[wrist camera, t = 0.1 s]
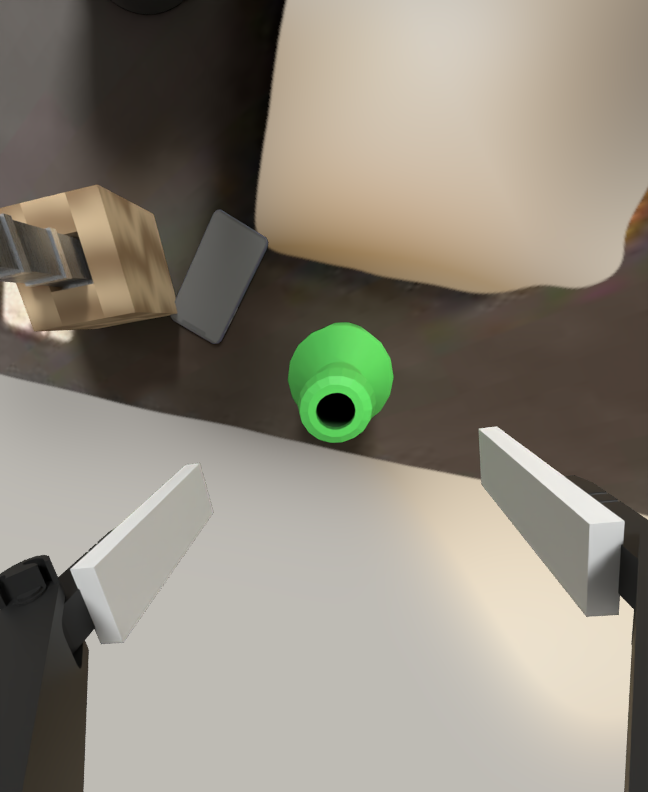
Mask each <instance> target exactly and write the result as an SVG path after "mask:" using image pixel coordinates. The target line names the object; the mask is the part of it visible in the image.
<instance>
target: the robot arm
mask: <svg viewBox="0 0 648 792" xmlns="http://www.w3.org/2000/svg"><path fill="white" fill-rule="evenodd" d="M111 1H112V2H114V3H115V4H117V5H118V6H120V7H122V8H124V9H126V10H129V11H132V12H135V13H140V14H156V13H161V12H164V11H167V10H169V9H171V8H173V7H175V6H177V5H178V4H180V3H181V2H182V1H183V0H111ZM479 446H480V465H481V482H482V483H481V484H482V486H483V487H484V488H485V490H486V491H487V492H488V493H489V495H490V496H491V497H492V498H493V500H494V501H495V502H496V503H497V505H498V506H499V507H500V508H501V510H502V511H503V512H504V513H505V515H506V516H507V517H508V519H509V520H510V521H511V522H512V524H513V525H514V526H515V527H516V529H517V530H518V531H519V532H520V534H521V535H522V536H523V537H524V539H525V540H526V541H527V542H528V544H529V545H530V546H531V547H532V549H533V550H534V551H535V553H536V554H537V555H538V556H539V558H540V559H541V560H542V561H543V563H544V564H545V565H546V566H547V567H548V569H549V570H550V571H551V573H552V574H553V575H554V576H555V578H556V579H557V580H558V582H559V583H560V584H561V585H562V586H563V588H564V589H565V590H566V592H567V593H568V594H569V595H570V597H571V598H572V599H573V600H574V602H575V603H576V604H577V605H578V607H579V608H580V609H581V610H582V612H583V613H584V614H585V615H586V617H589V616H606V615H619V601H620V596H621V597H622V598H623V599H624V600H625V601H626V602H627V603H628V604H629V605H630V606H631V607H632V608H633V609H634V619H633V631H632V656H631V657H632V658H631V674H630V693H629V712H628V731H627V750H626V769H625V788H624V792H648V520H647V519H646V518H644V517H643V516H641V515H640V514H638V513H637V512H635V511H634V510H632V509H631V508H630V507H628V506H627V505H625V504H624V503H622V502H621V501H618V500H617V499H616V498H615V497H613V496H612V495H610V494H609V493H608V494H607V493H606V491H604V490H603V489H601V488H600V487H599V486H597V485H596V484H594V483H593V482H590V481H588V480H585V479H583V478H580V477H577V476H575V475H573V476H563V475H561V474H560V473H559V472H557V471H556V470H555V469H553V468H552V467H551V466H549V465H548V464H547V463H545V462H544V461H543V460H541V459H540V458H539V457H537V456H536V455H534V454H533V453H532V452H530V451H529V450H528V449H526V448H525V447H524V446H522V445H521V444H520V443H518V442H517V441H516V440H514V439H513V438H511V437H510V436H509V435H507V434H506V433H505V432H503V431H502V430H501V429H499V428H498V427H489V428H481V429H479ZM212 514H213V508H212V504H211V501H210V497H209V494H208V490H207V486H206V483H205V479H204V476H203V472H202V468H201V465H200V463H196V464H188V465H185V466H184V467H182V469H180V470H179V471H178V472H177V473H176V474H175V475H174V476H173V477H171V478H170V479H169V480H168V481H167V482H166V483H165V484H164V485H163V486H162V487H160V488H159V489H158V490H157V491H156V492H155V493H154V494H153V495H152V496H150V497H149V498H148V499H147V500H146V501H145V502H144V503H143V504H142V505H141V506H139V507H138V508H137V509H136V510H135V511H134V512H133V513H132V514H131V515H129V516H128V517H127V518H126V519H125V520H124V521H123V522H122V523H121V524H119V525H118V526H117V527H116V528H115V529H113V530H111V531H110V532H108V533H107V534H106V535H105V536H104V537H103V538H102V539H101V540H99V541H98V544H95V545H94V546H93V547H92V548H90V549H89V552H86V553H85V554H84V555H83V556H82V557H80V558H79V559H78V560H77V561H76V562H75V563H74V564H73V565H72V566H70V568H68V569H67V570H66V571H65V572H64V573H63V574H61V575H60V576H59V577H58V576H57V574H56V572H55V570H54V567H53V565H52V562H51V561H50V558H49V556H46V555H41V556H35V557H32V558H29V559H27V560H24V561H22V562H20V563H18V564H16V565H14V566H12V567H11V568H9V569H7V570H6V571H4V572H2V573H1V574H0V792H83V787H84V761H85V734H86V708H87V681H88V655H89V650H88V647H87V644H86V642H85V639H86V638H87V637H88V636H89V634H90V633H91V632H92V631H93V629H95V631H96V634H97V636H98V638H99V641H100V643H101V644H110V643H124V641H125V640H126V638H127V637H128V635H129V634H130V632H131V631H132V630H133V628H134V627H135V625H136V624H137V622H138V621H139V619H140V618H141V617H142V615H143V614H144V612H145V611H146V609H147V608H148V607H149V605H150V604H151V602H152V601H153V599H154V598H155V596H156V595H157V594H158V592H159V591H160V589H161V588H162V586H163V585H164V583H165V582H166V581H167V579H168V578H169V576H170V575H171V573H172V572H173V570H174V569H175V568H176V566H177V565H178V563H179V562H180V560H181V559H182V557H183V556H184V555H185V553H186V552H187V550H188V549H189V547H190V546H191V544H192V543H193V542H194V540H195V539H196V537H197V536H198V534H199V533H200V531H201V530H202V528H203V527H204V525H205V524H206V523H207V521H208V520H209V518H210V517H211V515H212Z"/></svg>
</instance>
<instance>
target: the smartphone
mask: <svg viewBox="0 0 648 792" xmlns="http://www.w3.org/2000/svg"><path fill="white" fill-rule="evenodd" d="M267 248H268V240H267V238H266V237H264V236H263V235H261V234H260V233H258V232H256V231H255V230H253V229H251V228H250V227H248V226H247V225H245V224H243V223H242V222H240V221H238V220H237V219H235V218H234V217H232V216H230V215H229V214H227V213H225V212H224V211H222V210H216V211H215V212H214V213H213V216H212V218H211V220H210V222H209V225H208V227H207V229H206V231H205V234H204V236H203V238H202V241H201V243H200V245H199V247H198V250H197V252H196V254H195V256H194V259H193V261H192V263H191V266H190V268H189V270H188V272H187V275H186V277H185V279H184V281H183V284H182V286H181V288H180V291H179V293H178V295H177V297H176V300H175V305H176V309H177V314H171V315H170V316H171V318H172V320H173V321H175V322H177V323H179V324H180V325H182V326H184V327H185V328H187V329H189V330H190V331H192V332H194V333H196V334H197V335H199V336H201V337H202V338H204V339H206V340H207V341H209V342H211V343H212V344H217V343H219V342H221V341H222V339H223V337H224V335H225V333H226V331H227V329H228V327H229V325H230V323H231V321H232V319H233V317H234V315H235V313H236V311H237V309H238V306H239V304H240V302H241V300H242V298H243V296H244V294H245V292H246V290H247V288H248V286H249V284H250V282H251V280H252V278H253V276H254V274H255V272H256V270H257V268H258V266H259V264H260V262H261V260H262V258H263V256H264V254H265V252H266V250H267Z"/></svg>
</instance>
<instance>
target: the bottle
mask: <svg viewBox="0 0 648 792" xmlns="http://www.w3.org/2000/svg"><path fill="white" fill-rule="evenodd" d="M288 382H289V386H290V390H291V394H292V398H293V399H294V401H295V402H296V404H297V405H298V409H299V413H300V418H301V421H302V423H303V425H304V426H305V428H306V429H307V431H308V432H309V433H310V434H312V435H313V436H315V437H316V438H317V439H319V440H323V441H326V442H329V443H334V442H344V441H347V440H350V439H352V438H354V437H356V436H357V435H359V434H360V433H361V432H363V431H364V429H365V428H366V426H367V424H368V423H369V421H370V420H371V418H372V417H373V416H375V415H376V414H377V413H378V412H380V411H381V409H382V407H383V406H384V404H385V402H386V401H387V399H388V398H389V396H390V392H391V387H392V382H393V371H392V365H391V359H390V357H389V356H388V354H387V352H386V350H385V349H384V347H383V345H382V344H381V342H379V341H378V340H377V339H376V338H374V337H373V336H372V335H371V334H370V333H368V332H367V331H366V330H365V329H363V328H362V327H360V326H358V325H355V324H352V323H349V322H345V323H334V324H332V325H329V326H327V327H324V328H322V329H319V330H317V331H315V332H312V333H311V334H310V335H309V336H308V337H307V338H306V339H304V340H303V341H302V342H301V343H300V344H299V345H298V347H297V349H296V351H295V353H294V355H293V357H292V359H291V361H290V366H289V375H288Z"/></svg>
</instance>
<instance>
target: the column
mask: <svg viewBox="0 0 648 792" xmlns="http://www.w3.org/2000/svg"><path fill="white" fill-rule="evenodd" d="M0 281H5V282H15V283H24V284H25V285H26V286H28V287H34V286H39V285H44V286H53V287H62V290H65V289H70V288H75V287H80V286H85V285H89V284H94V282H93V279H92V276H91V273H90V270H89V267H88V264H87V260H86V257H85V254H84V251H83V248H82V245H81V242H80V239H77V238H74V237H70V236H67V235H63V234H60V233H57V232H56V229H53V228H50V227H49V228H45V229H43V228H39V227H36V226H32V225H29V224H26V223H22V222H19V221H15V220H12V217H11V216H10V215H7V214H4V213H3V214H0Z"/></svg>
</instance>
